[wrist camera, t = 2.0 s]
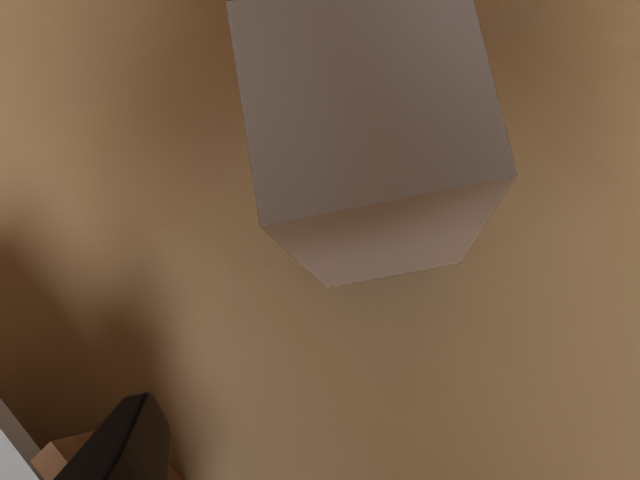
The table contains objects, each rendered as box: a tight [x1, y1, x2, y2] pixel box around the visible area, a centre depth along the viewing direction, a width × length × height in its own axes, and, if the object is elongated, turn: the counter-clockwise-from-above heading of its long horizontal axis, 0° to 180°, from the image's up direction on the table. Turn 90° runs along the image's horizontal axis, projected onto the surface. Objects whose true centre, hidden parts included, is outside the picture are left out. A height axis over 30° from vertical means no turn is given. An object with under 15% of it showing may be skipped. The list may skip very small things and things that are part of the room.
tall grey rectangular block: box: [226, 0, 517, 288], centre depth 17 cm, size 5×5×11 cm
